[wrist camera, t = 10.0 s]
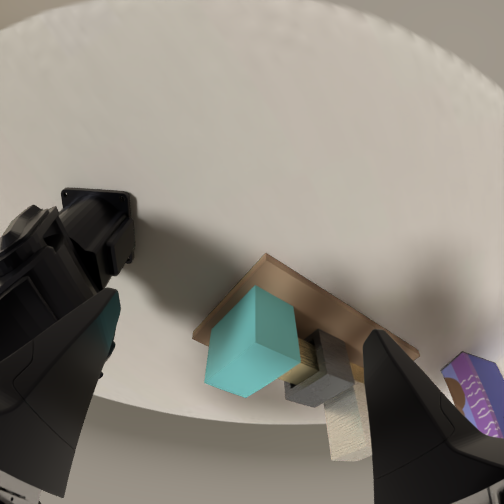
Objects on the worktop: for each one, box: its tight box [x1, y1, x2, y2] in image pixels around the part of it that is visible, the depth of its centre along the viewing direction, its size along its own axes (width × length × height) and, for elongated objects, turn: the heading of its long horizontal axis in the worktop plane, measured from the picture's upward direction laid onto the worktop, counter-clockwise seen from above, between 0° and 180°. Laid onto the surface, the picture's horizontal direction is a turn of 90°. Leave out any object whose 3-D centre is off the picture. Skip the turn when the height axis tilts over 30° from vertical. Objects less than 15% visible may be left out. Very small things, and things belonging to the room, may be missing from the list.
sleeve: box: [284, 328, 355, 408], centre depth 26 cm, size 4×5×5 cm
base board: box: [192, 253, 420, 368], centre depth 30 cm, size 26×12×1 cm, turn 54°
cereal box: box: [441, 351, 504, 438], centre depth 26 cm, size 17×5×24 cm, turn 63°
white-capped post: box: [278, 338, 372, 461], centre depth 23 cm, size 16×4×10 cm, turn 54°
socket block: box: [204, 285, 301, 398], centre depth 23 cm, size 4×7×6 cm, turn 144°
